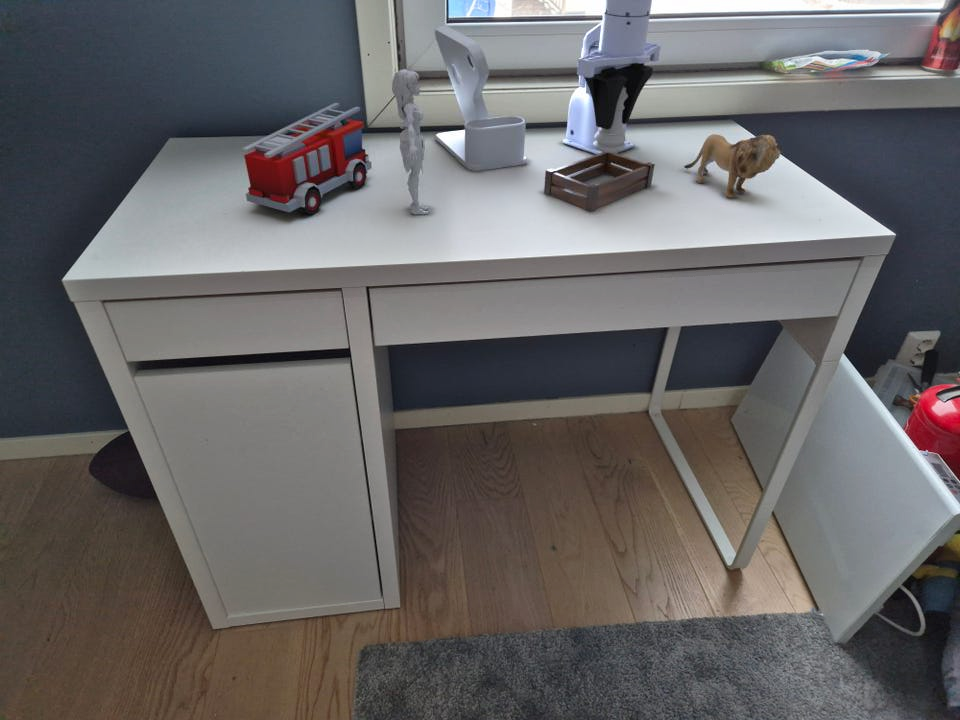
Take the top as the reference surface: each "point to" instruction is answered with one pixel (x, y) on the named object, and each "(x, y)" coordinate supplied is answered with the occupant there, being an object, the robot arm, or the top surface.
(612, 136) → the rook chess piece
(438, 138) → the phone holder
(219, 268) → the top surface
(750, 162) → the lion figurine
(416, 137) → the human figurine
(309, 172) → the toy fire truck
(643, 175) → the crate
